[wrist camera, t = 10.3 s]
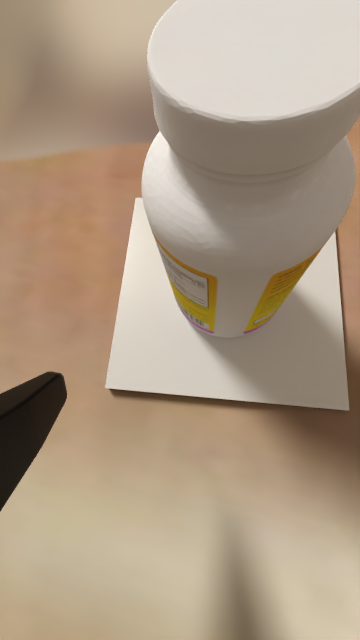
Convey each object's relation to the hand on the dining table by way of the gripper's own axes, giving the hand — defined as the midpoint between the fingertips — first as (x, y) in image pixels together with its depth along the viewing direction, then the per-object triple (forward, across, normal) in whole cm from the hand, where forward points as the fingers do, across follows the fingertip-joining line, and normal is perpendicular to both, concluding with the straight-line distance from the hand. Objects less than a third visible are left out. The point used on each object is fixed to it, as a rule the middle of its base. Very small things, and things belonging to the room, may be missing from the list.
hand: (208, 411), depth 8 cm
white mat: (+12, 0, +1) cm, 12 cm away
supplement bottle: (+11, 0, +1) cm, 11 cm away
